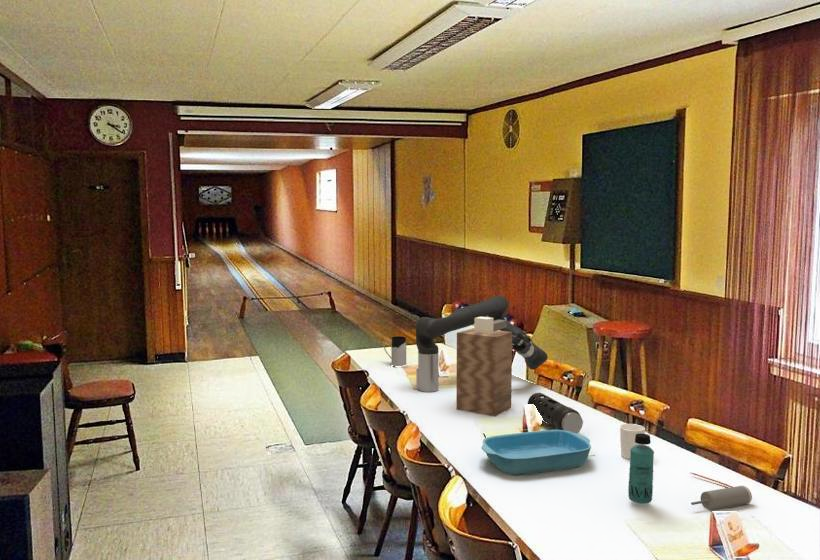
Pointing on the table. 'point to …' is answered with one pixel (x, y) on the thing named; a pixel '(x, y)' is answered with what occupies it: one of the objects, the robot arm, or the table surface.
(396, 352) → the glass holder
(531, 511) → the table surface
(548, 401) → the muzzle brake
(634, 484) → the beverage bottle
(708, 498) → the motor
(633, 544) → the table surface
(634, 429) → the white cup
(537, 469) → the casserole dish
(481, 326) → the plug
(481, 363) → the stand
